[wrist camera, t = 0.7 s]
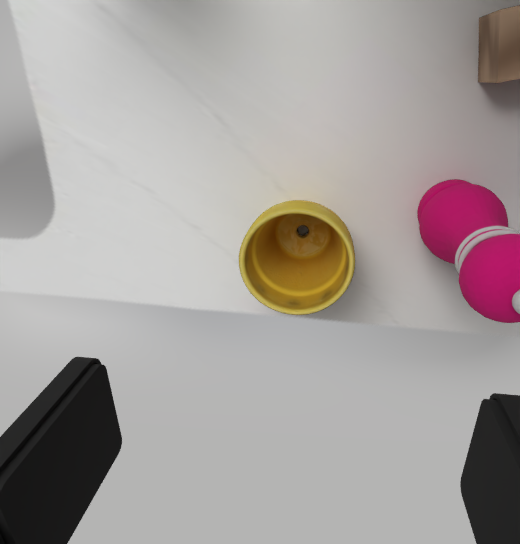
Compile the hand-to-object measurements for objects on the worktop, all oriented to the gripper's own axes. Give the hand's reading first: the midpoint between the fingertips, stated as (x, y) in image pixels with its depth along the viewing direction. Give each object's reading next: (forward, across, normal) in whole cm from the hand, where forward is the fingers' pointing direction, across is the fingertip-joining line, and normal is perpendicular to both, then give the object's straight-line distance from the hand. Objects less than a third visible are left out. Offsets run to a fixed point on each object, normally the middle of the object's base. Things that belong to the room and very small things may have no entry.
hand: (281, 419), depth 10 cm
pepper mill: (+35, -13, +5) cm, 38 cm away
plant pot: (+36, +2, +7) cm, 36 cm away
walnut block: (+35, -16, -10) cm, 40 cm away
